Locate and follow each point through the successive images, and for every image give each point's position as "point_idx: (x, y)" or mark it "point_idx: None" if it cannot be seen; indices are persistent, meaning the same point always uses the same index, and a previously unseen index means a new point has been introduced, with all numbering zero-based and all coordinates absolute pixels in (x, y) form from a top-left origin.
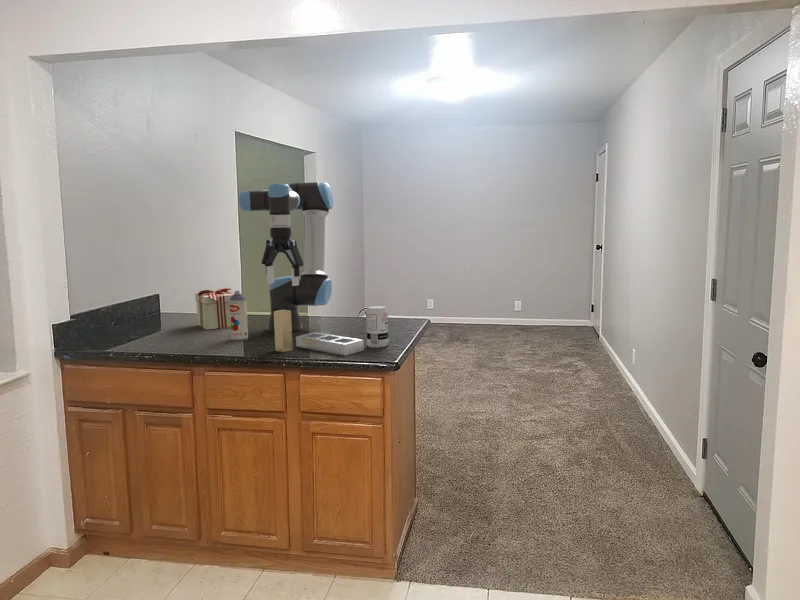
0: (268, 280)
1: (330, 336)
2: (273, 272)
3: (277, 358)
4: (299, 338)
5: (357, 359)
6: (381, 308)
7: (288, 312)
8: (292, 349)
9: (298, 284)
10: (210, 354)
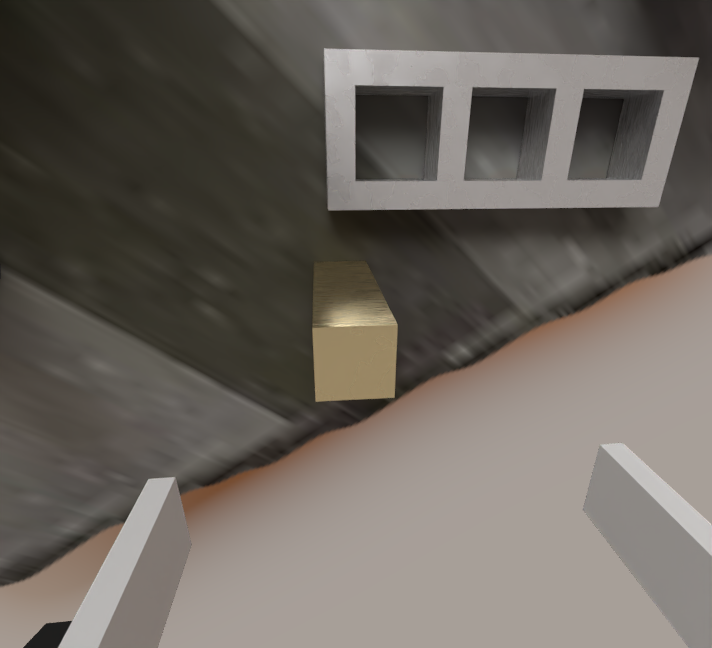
0: (175, 583)
1: (481, 87)
2: (109, 633)
3: (421, 378)
4: (354, 209)
5: (695, 220)
6: None
7: (394, 341)
8: (365, 261)
9: (628, 456)
10: (176, 475)
